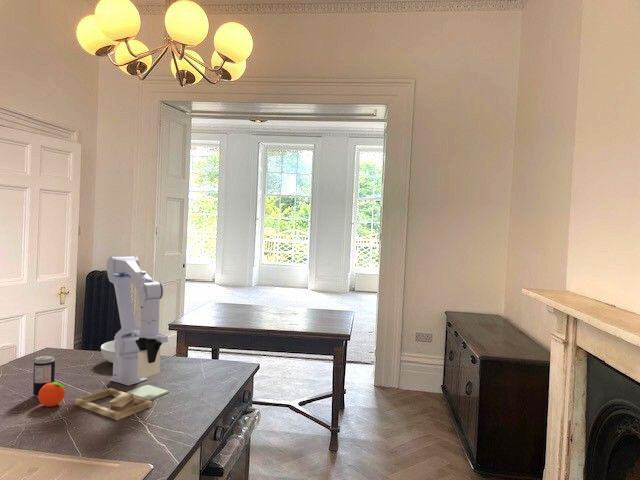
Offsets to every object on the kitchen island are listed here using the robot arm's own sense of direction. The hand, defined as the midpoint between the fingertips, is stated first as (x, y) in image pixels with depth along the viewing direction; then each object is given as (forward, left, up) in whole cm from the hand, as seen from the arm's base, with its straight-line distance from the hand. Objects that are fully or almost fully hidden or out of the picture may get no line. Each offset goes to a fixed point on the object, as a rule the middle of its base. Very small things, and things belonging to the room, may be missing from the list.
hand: (148, 361), depth 150 cm
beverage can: (-24, -19, -11) cm, 33 cm away
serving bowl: (-32, +19, -11) cm, 39 cm away
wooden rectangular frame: (0, -12, -10) cm, 16 cm away
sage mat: (0, 0, -10) cm, 10 cm away
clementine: (-14, -22, -11) cm, 29 cm away
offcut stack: (+4, -13, -11) cm, 17 cm away
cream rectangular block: (0, 0, -4) cm, 4 cm away
